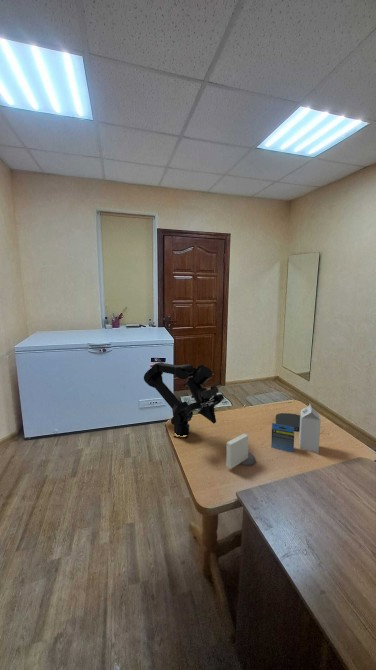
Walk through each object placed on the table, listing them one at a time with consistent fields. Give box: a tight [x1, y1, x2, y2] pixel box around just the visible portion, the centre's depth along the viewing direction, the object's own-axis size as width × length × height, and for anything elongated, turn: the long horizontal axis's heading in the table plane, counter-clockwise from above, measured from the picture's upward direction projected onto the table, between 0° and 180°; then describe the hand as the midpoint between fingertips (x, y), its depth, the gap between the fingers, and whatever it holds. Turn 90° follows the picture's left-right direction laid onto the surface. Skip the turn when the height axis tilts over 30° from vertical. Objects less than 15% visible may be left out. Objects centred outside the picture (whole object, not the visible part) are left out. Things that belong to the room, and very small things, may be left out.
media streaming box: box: [275, 412, 300, 432], centre depth 136 cm, size 15×15×3 cm
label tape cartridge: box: [270, 422, 295, 453], centre depth 112 cm, size 9×4×12 cm, turn 65°
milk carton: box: [298, 404, 321, 455], centre depth 112 cm, size 7×7×19 cm
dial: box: [225, 432, 256, 470], centre depth 102 cm, size 14×7×11 cm, turn 129°
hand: (215, 422), depth 109 cm, fingers closed
